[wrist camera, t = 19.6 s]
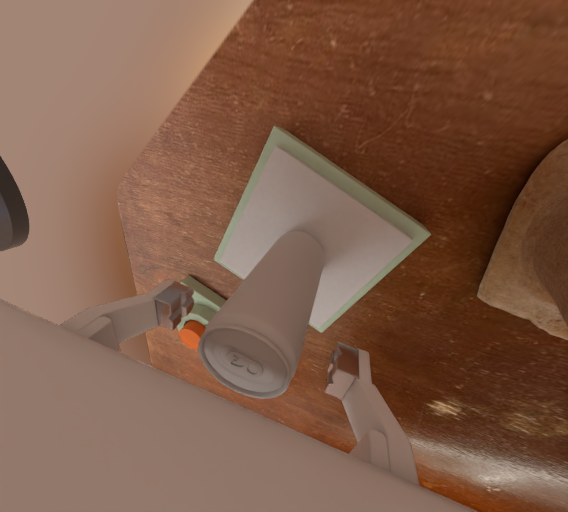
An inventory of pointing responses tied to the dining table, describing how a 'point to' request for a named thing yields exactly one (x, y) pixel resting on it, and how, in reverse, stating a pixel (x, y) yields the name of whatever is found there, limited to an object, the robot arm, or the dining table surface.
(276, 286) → the beverage can
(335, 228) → the scale
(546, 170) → the tan stone pipe
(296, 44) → the dining table surface
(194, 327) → the button
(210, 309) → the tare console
